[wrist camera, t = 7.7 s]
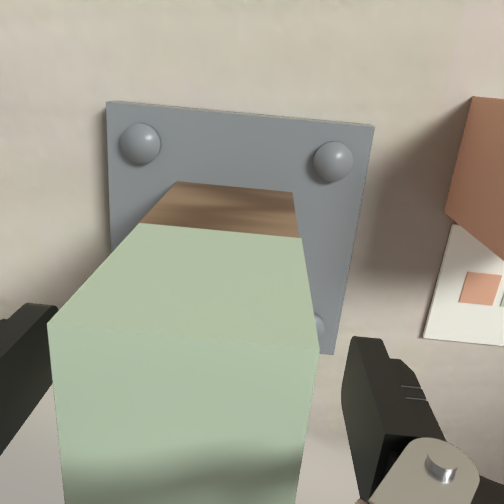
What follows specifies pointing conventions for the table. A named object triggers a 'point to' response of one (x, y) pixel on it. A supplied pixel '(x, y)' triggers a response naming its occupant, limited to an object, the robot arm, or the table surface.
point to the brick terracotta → (481, 175)
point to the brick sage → (186, 370)
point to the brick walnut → (226, 209)
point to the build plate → (248, 178)
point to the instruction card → (468, 293)
